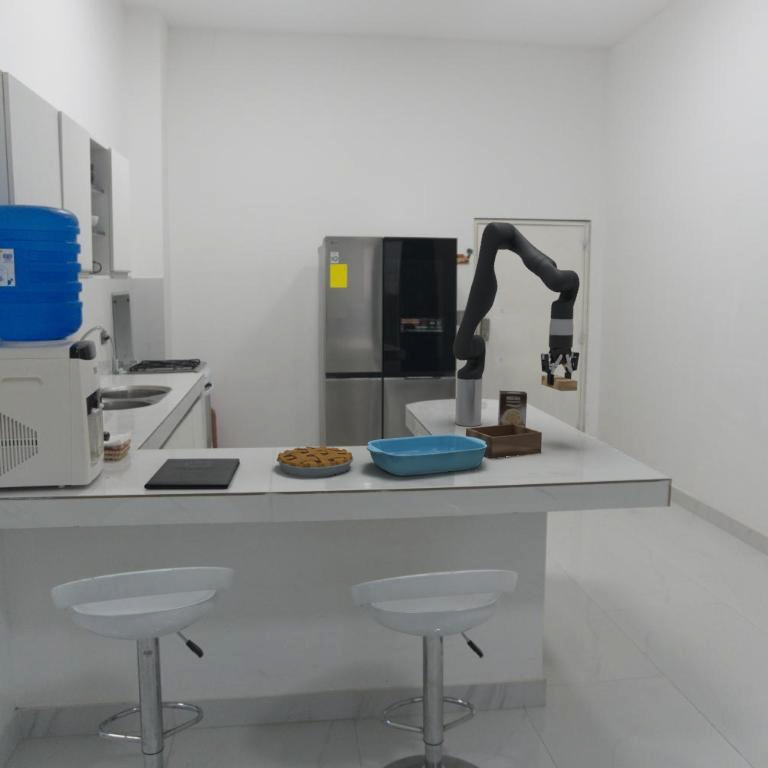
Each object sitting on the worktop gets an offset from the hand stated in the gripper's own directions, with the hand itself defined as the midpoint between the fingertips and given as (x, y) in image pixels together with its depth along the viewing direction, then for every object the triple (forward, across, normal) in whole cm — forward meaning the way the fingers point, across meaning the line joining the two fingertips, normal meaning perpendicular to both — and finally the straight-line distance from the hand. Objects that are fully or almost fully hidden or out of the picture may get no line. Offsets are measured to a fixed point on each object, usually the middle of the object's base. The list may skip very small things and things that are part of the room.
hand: (558, 384), depth 240 cm
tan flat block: (+1, 0, 0) cm, 1 cm away
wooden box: (+20, +20, -1) cm, 29 cm away
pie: (+21, +82, -6) cm, 85 cm away
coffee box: (+20, +8, -14) cm, 26 cm away
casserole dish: (+21, +52, +5) cm, 56 cm away
